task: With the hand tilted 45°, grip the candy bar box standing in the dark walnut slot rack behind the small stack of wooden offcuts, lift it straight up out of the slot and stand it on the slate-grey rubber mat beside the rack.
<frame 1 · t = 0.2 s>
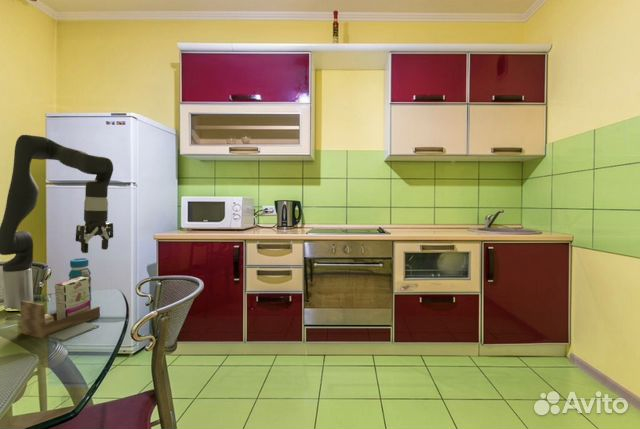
hand: (94, 251, 131), 29 cm above the table, tool pointing down, fingers open, 8 cm apart
offcut stack: (44, 331, 126), resting in slot rack
slate mat: (74, 331, 126), on the table
beverage bottle: (80, 303, 156), on the table
candy bar box: (74, 321, 136), resting in slot rack
slot rack: (65, 323, 133), on the table
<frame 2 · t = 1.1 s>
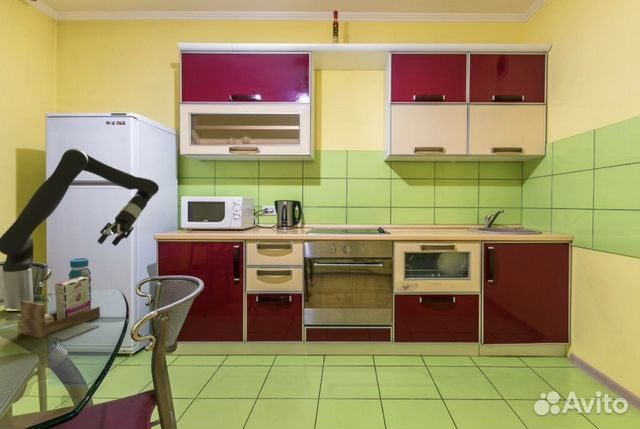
hand: (106, 243, 147), 29 cm above the table, tool tilted 45°, fingers open, 8 cm apart
nothing on the table moved.
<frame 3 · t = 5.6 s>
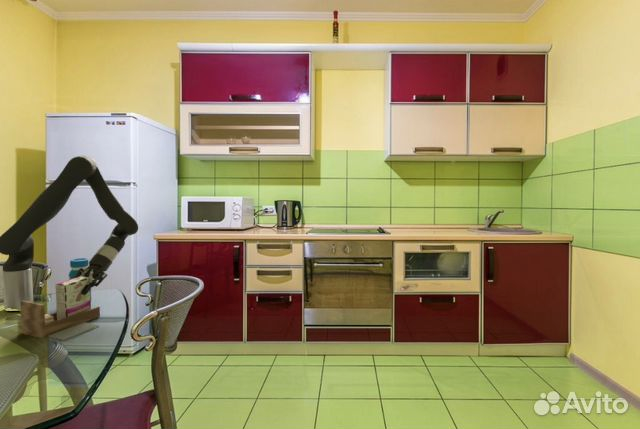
hand: (77, 293, 137), 11 cm above the table, tool tilted 45°, fingers closed on candy bar box, 5 cm apart
candy bar box: (74, 320, 136), resting in slot rack, touching gripper
everything else where it was.
when the fingers open (12 cm above the table, at t = 12.9 s): candy bar box drops 1 cm, resting on slate mat.
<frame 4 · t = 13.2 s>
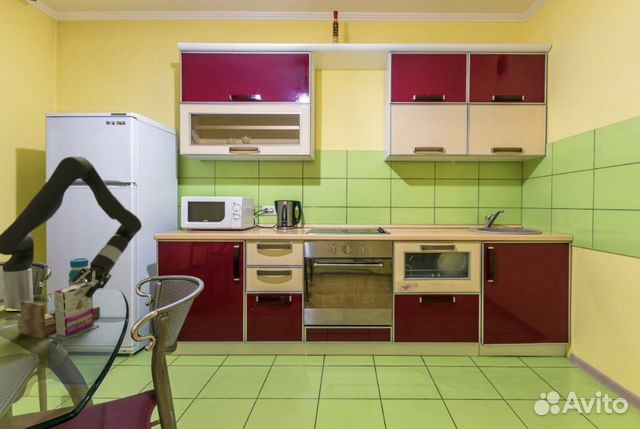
hand: (79, 295, 127), 13 cm above the table, tool tilted 45°, fingers open, 8 cm apart
candy bar box: (75, 330, 127), resting on slate mat
everything else where it was.
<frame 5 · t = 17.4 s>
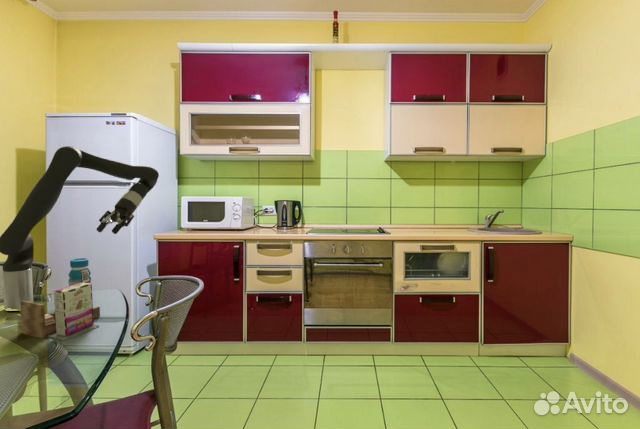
hand: (105, 231, 141), 35 cm above the table, tool tilted 45°, fingers open, 8 cm apart
nothing on the table moved.
at the end: candy bar box inside the target area on the slate mat (0.4 cm from its centre), point 0.3 cm above the slate mat's base; candy bar box tilted 0°; the gripper is holding nothing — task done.
